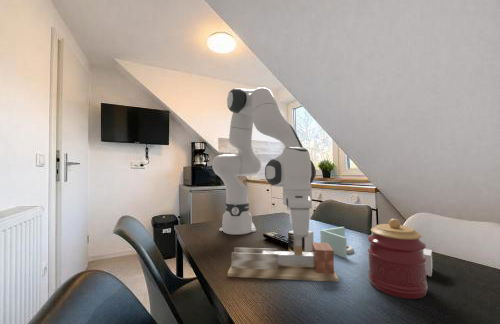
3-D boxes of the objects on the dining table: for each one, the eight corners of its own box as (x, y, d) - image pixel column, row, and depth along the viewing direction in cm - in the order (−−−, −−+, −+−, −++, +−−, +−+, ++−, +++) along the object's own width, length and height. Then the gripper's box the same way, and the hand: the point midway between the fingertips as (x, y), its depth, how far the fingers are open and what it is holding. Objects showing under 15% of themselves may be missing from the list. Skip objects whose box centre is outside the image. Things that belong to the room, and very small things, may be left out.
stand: (227, 276, 66) (227, 250, 66) (235, 260, 78) (234, 238, 78) (338, 281, 62) (337, 254, 63) (328, 263, 74) (327, 240, 75)
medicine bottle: (287, 250, 87) (287, 219, 87) (297, 246, 92) (297, 216, 93) (304, 255, 82) (304, 221, 82) (314, 250, 87) (313, 218, 88)
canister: (360, 274, 66) (358, 214, 67) (405, 275, 66) (403, 214, 67) (385, 300, 53) (383, 224, 54) (441, 300, 53) (438, 224, 54)
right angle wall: (345, 259, 79) (344, 237, 79) (320, 249, 90) (320, 230, 90) (368, 254, 84) (368, 233, 84) (343, 244, 95) (342, 226, 95)
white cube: (431, 276, 65) (430, 255, 65) (406, 270, 69) (405, 250, 69) (432, 269, 70) (431, 249, 70) (408, 264, 73) (408, 245, 74)
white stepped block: (261, 264, 69) (261, 234, 70) (262, 260, 72) (262, 231, 73) (322, 267, 67) (322, 235, 68) (320, 262, 70) (320, 232, 71)
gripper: (285, 194, 81) (286, 234, 80) (288, 203, 61) (289, 255, 60) (303, 194, 80) (304, 234, 80) (312, 203, 60) (313, 256, 59)
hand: (297, 243), depth 70 cm, fingers closed on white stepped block, 2 cm apart
